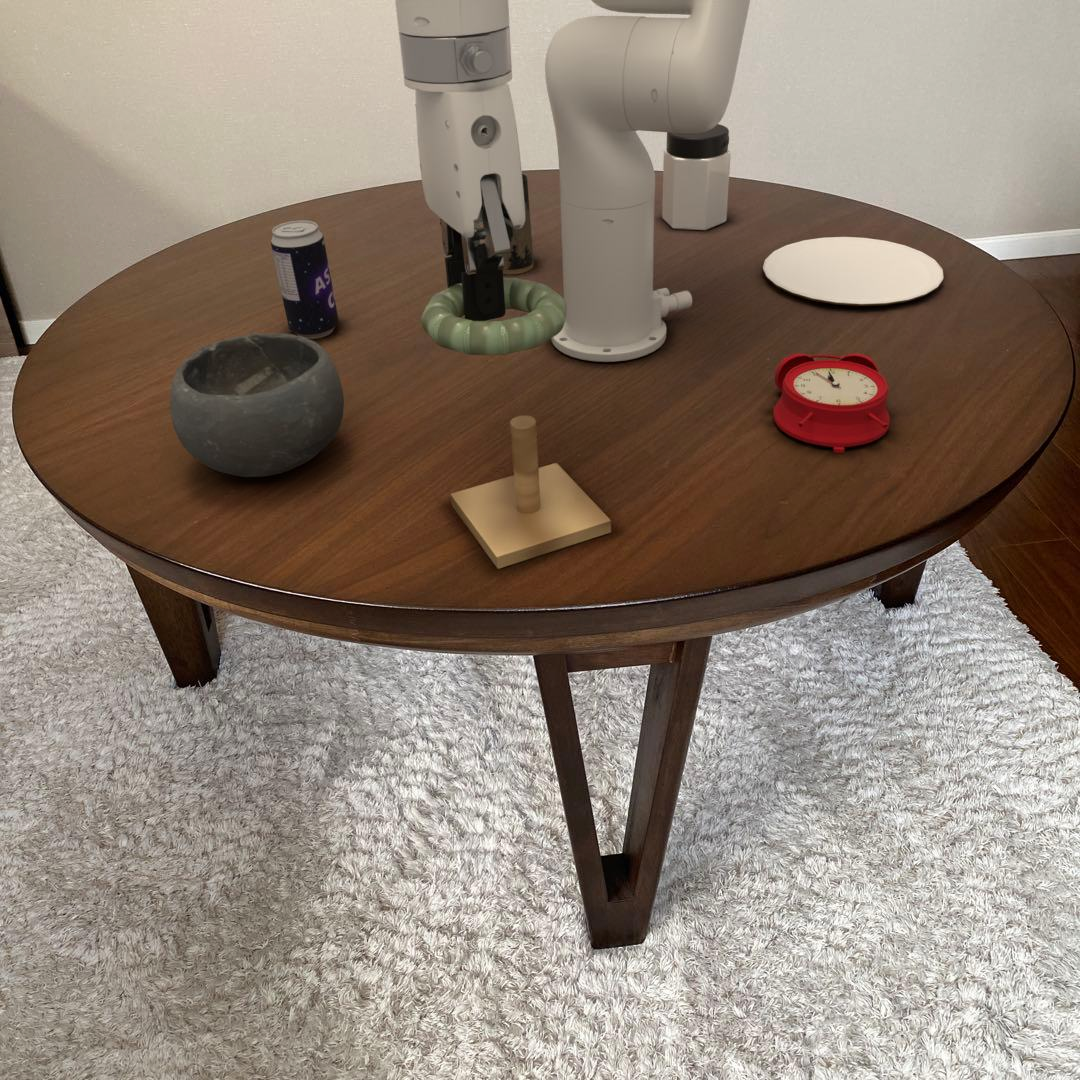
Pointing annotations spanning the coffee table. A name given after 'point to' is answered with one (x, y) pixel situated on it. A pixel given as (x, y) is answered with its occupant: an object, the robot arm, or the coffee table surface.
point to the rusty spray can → (520, 242)
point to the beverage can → (304, 278)
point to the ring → (496, 335)
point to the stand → (528, 506)
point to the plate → (853, 271)
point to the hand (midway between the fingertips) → (477, 309)
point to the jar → (696, 179)
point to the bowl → (257, 403)
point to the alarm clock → (831, 400)
